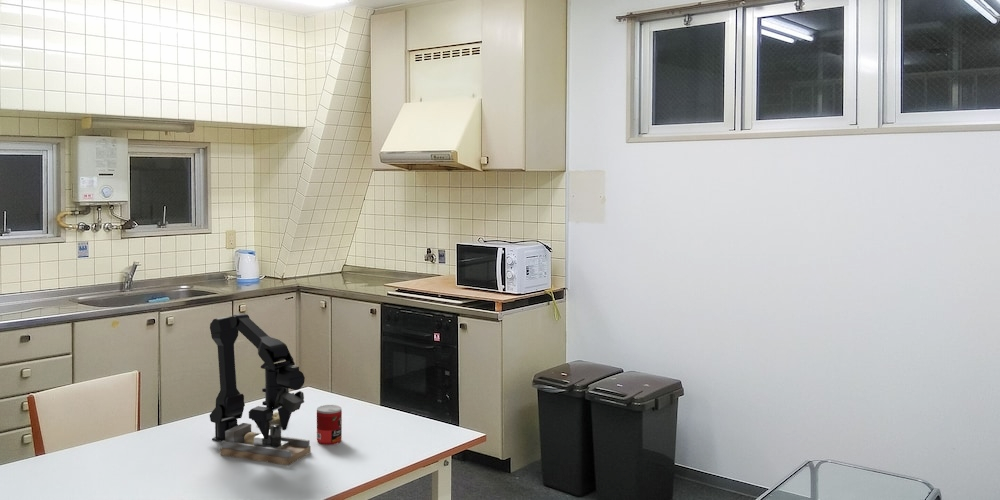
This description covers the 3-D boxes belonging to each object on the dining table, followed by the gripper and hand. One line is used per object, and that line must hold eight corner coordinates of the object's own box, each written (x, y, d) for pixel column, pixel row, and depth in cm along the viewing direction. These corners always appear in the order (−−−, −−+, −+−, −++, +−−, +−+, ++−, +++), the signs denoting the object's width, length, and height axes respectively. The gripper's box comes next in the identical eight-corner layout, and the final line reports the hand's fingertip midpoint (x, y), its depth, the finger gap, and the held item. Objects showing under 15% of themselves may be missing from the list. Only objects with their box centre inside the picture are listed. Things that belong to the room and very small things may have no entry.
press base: (220, 454, 243) (220, 432, 242) (245, 442, 254) (245, 421, 254) (288, 465, 235) (288, 442, 235) (310, 452, 247) (310, 430, 246)
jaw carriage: (253, 450, 241) (253, 427, 241) (269, 441, 249) (269, 420, 248) (273, 453, 239) (273, 430, 238) (288, 444, 247) (288, 422, 246)
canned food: (336, 446, 252) (336, 412, 251) (312, 444, 254) (312, 410, 253) (345, 438, 260) (345, 405, 259) (322, 436, 261) (322, 403, 260)
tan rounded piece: (241, 446, 245) (241, 433, 245) (249, 442, 249) (249, 429, 249) (252, 447, 244) (252, 435, 243) (260, 443, 248) (260, 431, 247)
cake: (292, 427, 273) (292, 412, 272) (266, 434, 266) (267, 418, 265) (275, 418, 280) (276, 403, 279) (250, 425, 272) (250, 410, 271)
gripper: (279, 394, 230) (280, 447, 232) (314, 379, 248) (315, 428, 249) (247, 390, 234) (247, 442, 235) (284, 376, 251) (284, 424, 253)
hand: (275, 434), depth 243 cm, fingers open, 9 cm apart
